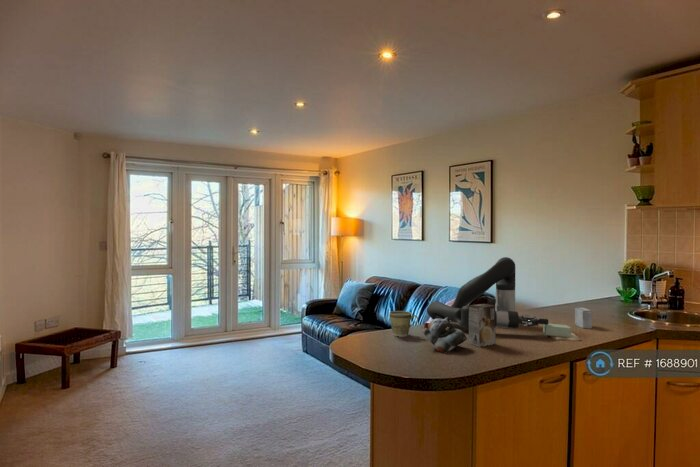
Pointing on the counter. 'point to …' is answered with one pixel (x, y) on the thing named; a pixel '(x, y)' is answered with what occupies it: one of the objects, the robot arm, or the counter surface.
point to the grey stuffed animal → (443, 334)
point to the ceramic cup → (401, 322)
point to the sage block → (557, 330)
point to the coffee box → (482, 325)
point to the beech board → (573, 337)
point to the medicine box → (583, 317)
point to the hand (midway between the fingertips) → (547, 321)
